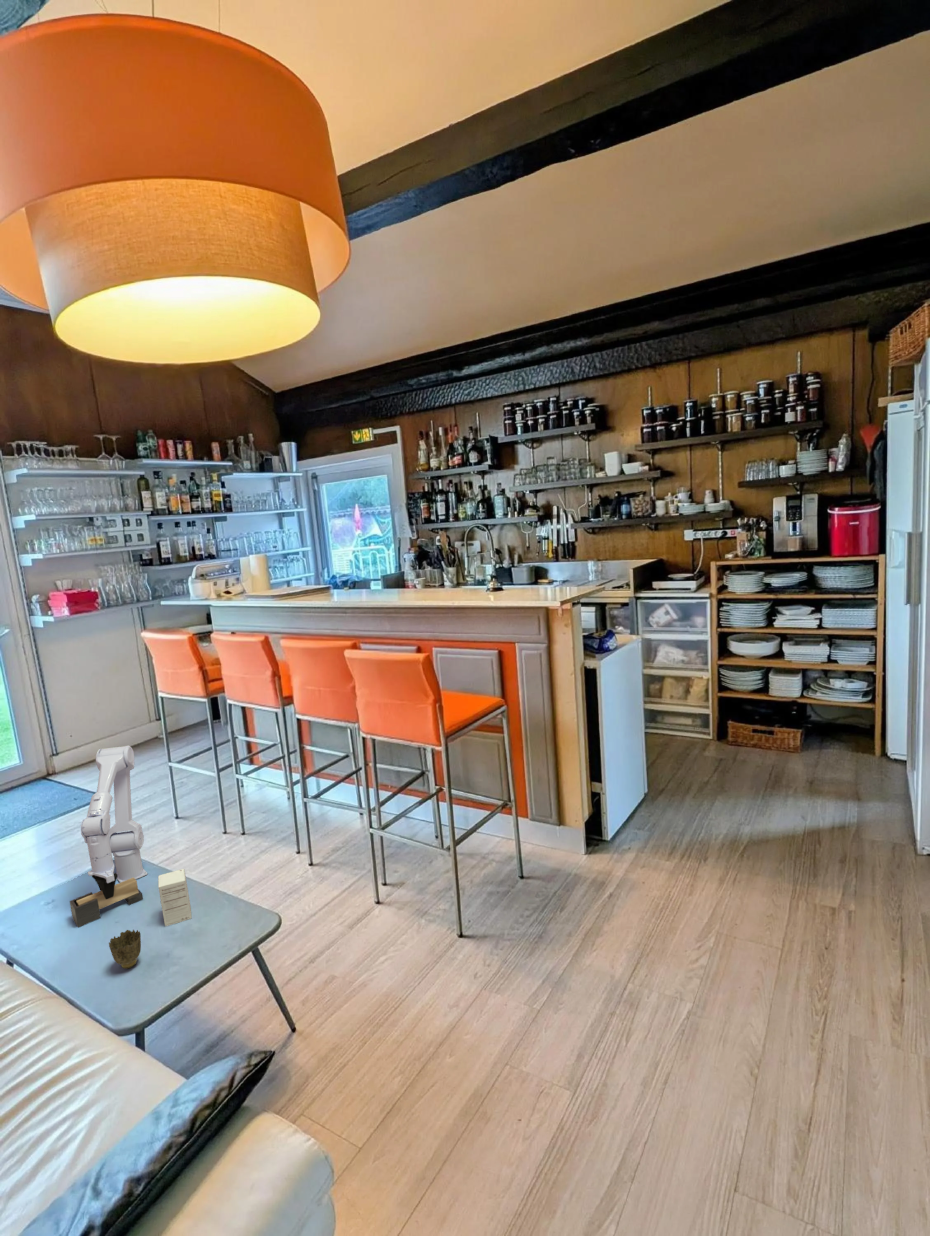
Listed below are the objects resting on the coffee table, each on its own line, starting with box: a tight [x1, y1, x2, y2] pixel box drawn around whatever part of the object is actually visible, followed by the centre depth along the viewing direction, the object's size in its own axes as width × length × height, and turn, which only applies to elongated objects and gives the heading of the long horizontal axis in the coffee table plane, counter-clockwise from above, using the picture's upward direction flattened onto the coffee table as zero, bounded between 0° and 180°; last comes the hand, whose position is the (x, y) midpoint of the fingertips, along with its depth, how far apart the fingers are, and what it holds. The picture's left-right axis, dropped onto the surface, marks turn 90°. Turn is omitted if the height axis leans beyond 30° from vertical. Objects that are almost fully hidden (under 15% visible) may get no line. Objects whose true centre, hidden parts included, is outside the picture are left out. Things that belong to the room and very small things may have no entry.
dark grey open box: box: [69, 891, 101, 928], centre depth 192 cm, size 6×6×6 cm
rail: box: [76, 877, 139, 910], centre depth 196 cm, size 3×16×4 cm, turn 134°
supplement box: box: [157, 868, 192, 927], centre depth 189 cm, size 7×7×13 cm
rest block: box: [124, 888, 144, 906], centre depth 201 cm, size 6×4×2 cm, turn 44°
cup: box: [108, 929, 142, 970], centre depth 169 cm, size 8×7×8 cm
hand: (107, 895), depth 196 cm, fingers closed on rail, 3 cm apart
